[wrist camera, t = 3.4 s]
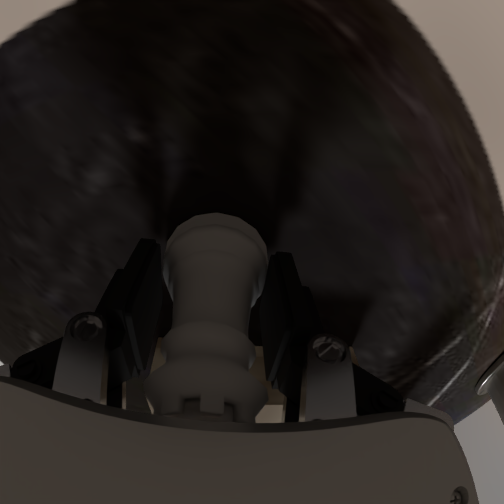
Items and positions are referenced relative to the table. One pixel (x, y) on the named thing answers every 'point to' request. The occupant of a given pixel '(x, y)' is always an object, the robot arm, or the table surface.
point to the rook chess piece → (210, 322)
